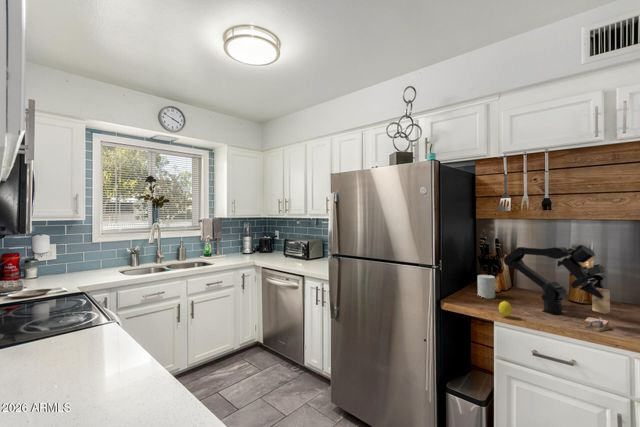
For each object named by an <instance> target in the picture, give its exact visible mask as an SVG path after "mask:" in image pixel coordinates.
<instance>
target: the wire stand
mask: <svg viewBox="0 0 640 427" xmlns="http://www.w3.org/2000/svg"><path fill="white" fill-rule="evenodd" d="M598 319H599V321H589V322H588V324H585V325H584V328H585V329H589V330H592V331H596V332H603V331H606V330H610V329H612V326H611V325H609V324H603V322H602V320H603V319H602V317H598Z"/></svg>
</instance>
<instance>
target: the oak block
mask: <svg viewBox="0 0 640 427" xmlns="http://www.w3.org/2000/svg"><path fill="white" fill-rule="evenodd" d="M596 289H597V290H598V291H599V293H600V294H601V295H602V296H603V298H602V299H600V298H598V297H596V296H594V295H592V294H591V295H592V299H591V300H592V307H591V308H592V311H593V312H597V313H601V314H609V313H611V305H610V304H611V292H610V291H611V290H610V289H607V288H604V289H602V288H596Z"/></svg>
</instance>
